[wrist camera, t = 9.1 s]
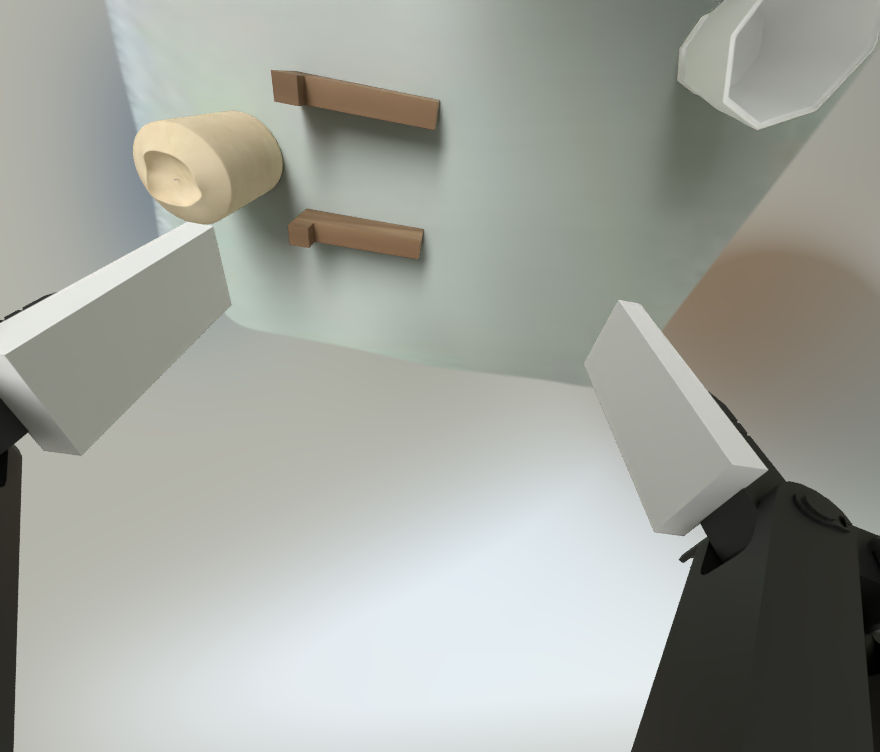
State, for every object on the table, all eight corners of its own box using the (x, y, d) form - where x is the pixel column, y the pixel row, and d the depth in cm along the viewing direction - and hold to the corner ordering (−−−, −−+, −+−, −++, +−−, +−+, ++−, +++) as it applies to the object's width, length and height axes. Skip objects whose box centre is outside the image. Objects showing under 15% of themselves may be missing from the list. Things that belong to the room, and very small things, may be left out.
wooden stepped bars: (296, 71, 25) (270, 70, 21) (439, 100, 26) (436, 103, 22) (307, 226, 32) (289, 244, 28) (421, 246, 32) (417, 265, 29)
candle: (244, 203, 31) (172, 245, 23) (194, 130, 27) (90, 150, 20) (298, 176, 29) (240, 211, 21) (251, 96, 26) (164, 102, 18)
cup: (636, 113, 26) (693, 124, 19) (714, -117, 19) (836, -210, 13) (733, 122, 26) (821, 136, 20) (843, -104, 19) (1025, -191, 13)
